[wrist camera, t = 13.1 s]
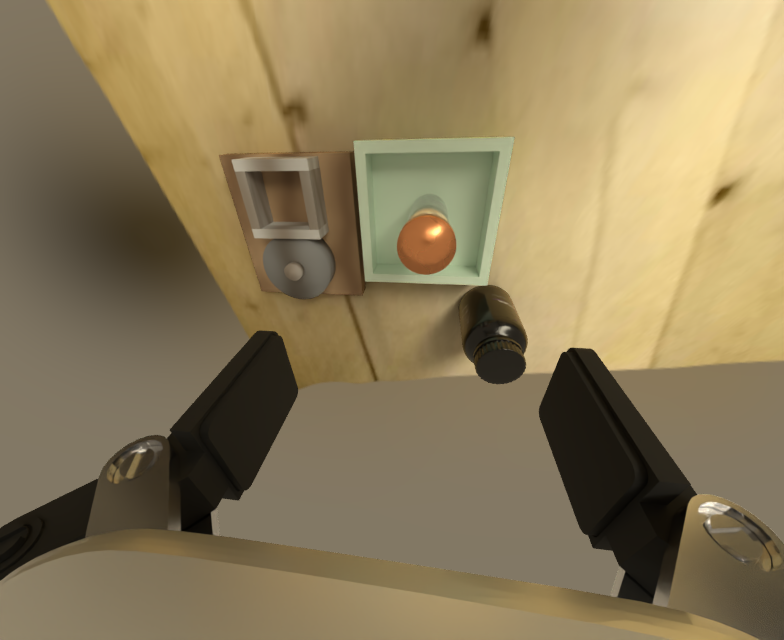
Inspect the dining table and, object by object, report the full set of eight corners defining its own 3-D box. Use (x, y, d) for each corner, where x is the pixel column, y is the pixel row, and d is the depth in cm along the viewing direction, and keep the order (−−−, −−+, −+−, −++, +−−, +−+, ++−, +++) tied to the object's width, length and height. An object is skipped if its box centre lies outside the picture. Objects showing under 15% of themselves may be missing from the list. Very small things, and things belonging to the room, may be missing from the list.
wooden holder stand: (354, 151, 29) (339, 154, 25) (365, 288, 38) (356, 309, 34) (230, 153, 31) (195, 157, 26) (268, 284, 40) (247, 304, 35)
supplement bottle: (516, 283, 35) (548, 342, 25) (505, 327, 39) (530, 394, 29) (460, 282, 36) (470, 339, 26) (455, 325, 40) (462, 390, 30)
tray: (504, 136, 27) (514, 137, 24) (482, 271, 35) (487, 285, 31) (362, 139, 29) (353, 140, 25) (371, 267, 36) (365, 281, 33)
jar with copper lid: (451, 190, 29) (459, 217, 20) (447, 234, 32) (453, 275, 23) (407, 191, 30) (396, 216, 21) (407, 234, 32) (397, 273, 23)
